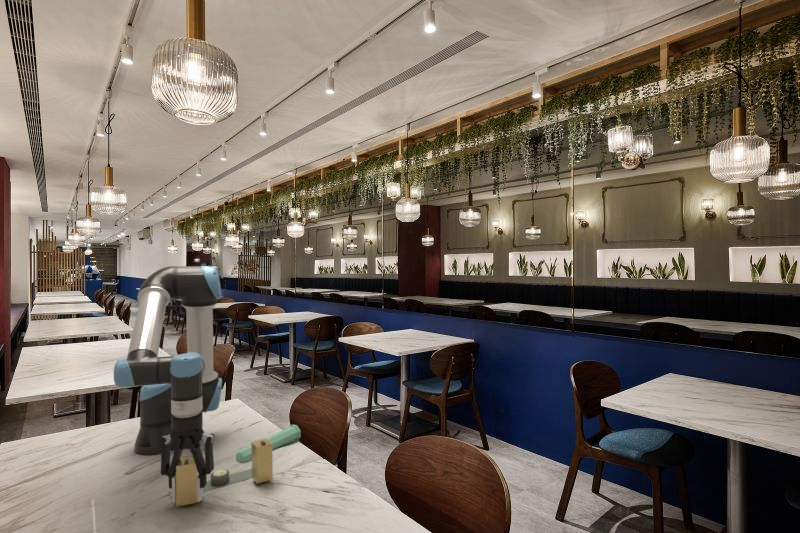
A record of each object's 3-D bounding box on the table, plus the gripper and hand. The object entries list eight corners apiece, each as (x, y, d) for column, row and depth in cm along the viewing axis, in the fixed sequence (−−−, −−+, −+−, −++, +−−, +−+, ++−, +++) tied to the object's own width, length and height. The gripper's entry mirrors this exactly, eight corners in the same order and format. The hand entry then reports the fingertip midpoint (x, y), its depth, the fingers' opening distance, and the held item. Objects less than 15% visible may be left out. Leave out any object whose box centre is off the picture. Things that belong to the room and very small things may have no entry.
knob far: (251, 480, 129) (251, 440, 129) (267, 476, 132) (266, 436, 132) (256, 487, 125) (256, 445, 125) (272, 482, 128) (272, 441, 128)
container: (241, 448, 141) (298, 422, 162) (230, 451, 144) (287, 426, 165) (246, 466, 140) (302, 438, 161) (235, 469, 143) (292, 441, 164)
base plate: (168, 495, 123) (168, 480, 123) (260, 469, 139) (260, 455, 138) (175, 514, 114) (175, 497, 114) (274, 484, 129) (273, 469, 129)
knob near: (179, 501, 118) (178, 456, 118) (197, 498, 120) (197, 454, 120) (176, 510, 114) (176, 464, 114) (195, 506, 115) (195, 461, 115)
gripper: (143, 418, 113) (144, 508, 113) (216, 417, 113) (217, 506, 114) (158, 408, 120) (159, 492, 121) (227, 407, 121) (228, 491, 121)
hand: (187, 499), depth 117 cm, fingers closed on knob near, 5 cm apart
